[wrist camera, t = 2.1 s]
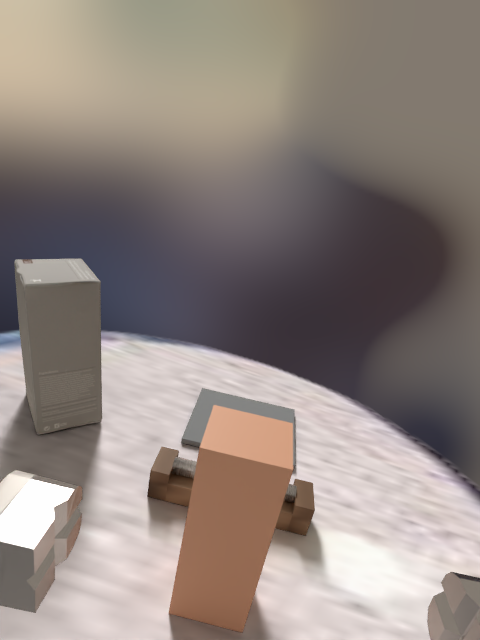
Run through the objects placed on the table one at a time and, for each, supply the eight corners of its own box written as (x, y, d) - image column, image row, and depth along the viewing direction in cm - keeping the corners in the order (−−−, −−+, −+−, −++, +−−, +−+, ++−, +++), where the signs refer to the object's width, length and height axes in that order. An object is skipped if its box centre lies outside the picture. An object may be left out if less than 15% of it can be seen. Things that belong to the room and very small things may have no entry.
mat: (181, 442, 41) (181, 438, 40) (201, 392, 50) (202, 388, 50) (293, 470, 40) (295, 465, 40) (293, 413, 49) (294, 409, 49)
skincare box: (102, 424, 41) (112, 282, 35) (26, 440, 37) (21, 283, 31) (84, 381, 47) (89, 255, 41) (17, 391, 43) (12, 253, 37)
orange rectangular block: (168, 613, 26) (199, 447, 20) (184, 557, 29) (213, 404, 24) (242, 632, 25) (293, 469, 20) (248, 573, 29) (292, 423, 24)
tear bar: (147, 496, 34) (151, 466, 32) (158, 471, 36) (162, 443, 35) (305, 535, 33) (315, 506, 32) (304, 507, 36) (313, 479, 35)
